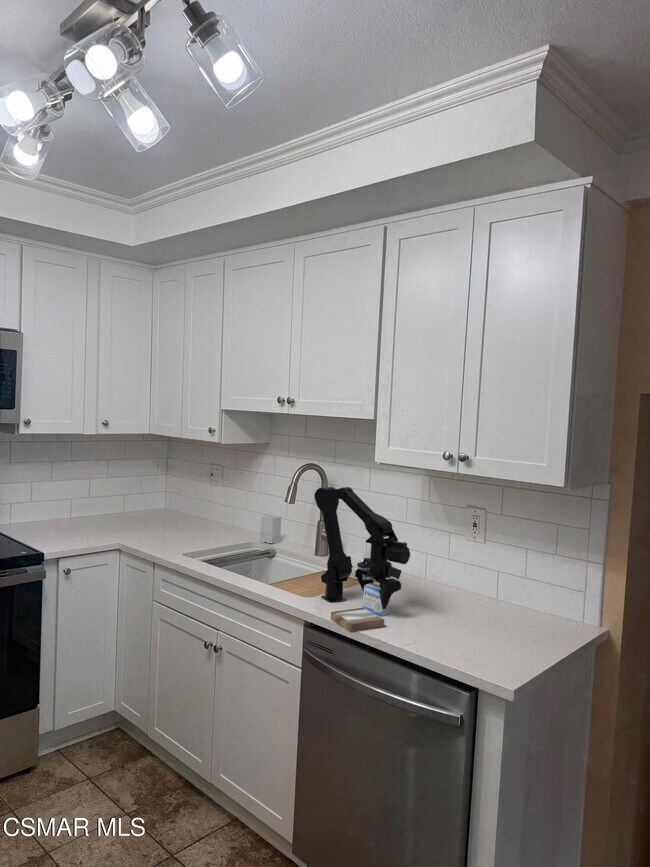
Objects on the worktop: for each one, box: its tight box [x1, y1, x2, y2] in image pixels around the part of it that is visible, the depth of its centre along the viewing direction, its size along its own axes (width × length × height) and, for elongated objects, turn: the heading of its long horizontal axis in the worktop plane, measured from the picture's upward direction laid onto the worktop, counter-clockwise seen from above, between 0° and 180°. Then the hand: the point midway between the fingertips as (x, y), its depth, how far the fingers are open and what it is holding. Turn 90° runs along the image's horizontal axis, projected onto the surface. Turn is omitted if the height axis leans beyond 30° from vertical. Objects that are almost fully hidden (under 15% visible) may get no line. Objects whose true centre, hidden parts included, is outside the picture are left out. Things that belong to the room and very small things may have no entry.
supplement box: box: [259, 514, 282, 544], centre depth 307 cm, size 7×7×13 cm
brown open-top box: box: [330, 607, 385, 633], centre depth 197 cm, size 12×12×3 cm
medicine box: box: [362, 583, 391, 617], centre depth 209 cm, size 8×4×9 cm, turn 52°
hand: (375, 604), depth 210 cm, fingers closed on medicine box, 9 cm apart
